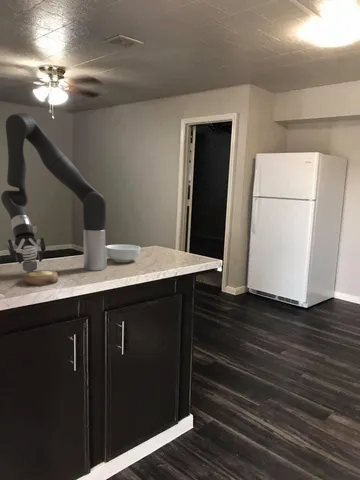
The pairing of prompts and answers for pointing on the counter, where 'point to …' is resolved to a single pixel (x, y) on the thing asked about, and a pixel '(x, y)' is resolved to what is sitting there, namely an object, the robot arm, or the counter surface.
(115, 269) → the counter surface
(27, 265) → the light bulb
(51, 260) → the counter surface
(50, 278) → the bulb stand
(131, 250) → the cereal bowl
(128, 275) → the counter surface
